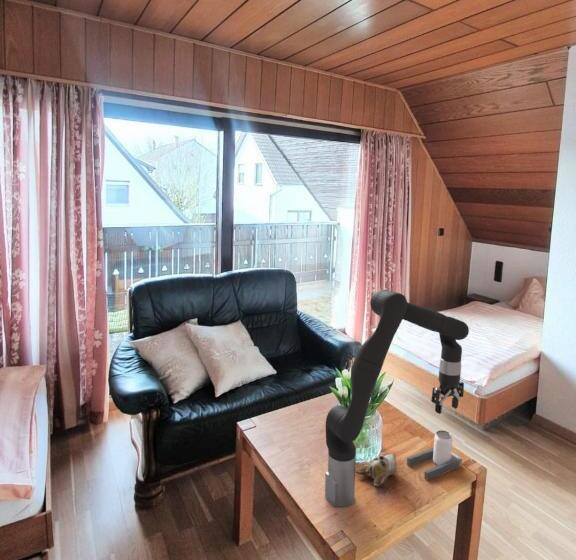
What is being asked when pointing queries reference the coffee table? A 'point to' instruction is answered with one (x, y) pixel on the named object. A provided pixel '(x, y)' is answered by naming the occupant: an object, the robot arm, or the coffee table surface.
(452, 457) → the frame
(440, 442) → the can
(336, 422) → the robot arm
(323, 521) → the coffee table surface
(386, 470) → the ceramic sculpture
